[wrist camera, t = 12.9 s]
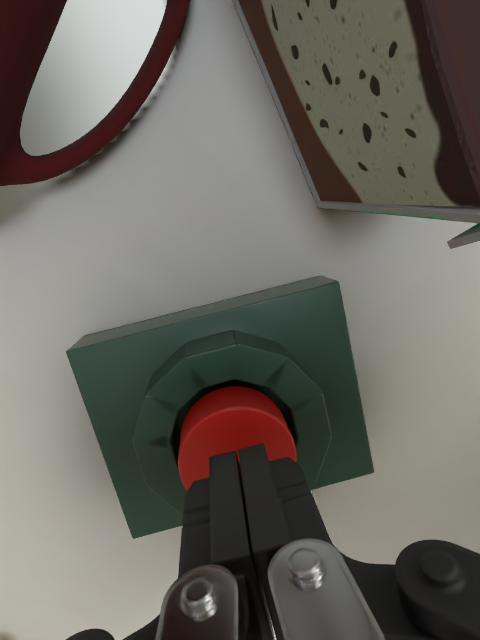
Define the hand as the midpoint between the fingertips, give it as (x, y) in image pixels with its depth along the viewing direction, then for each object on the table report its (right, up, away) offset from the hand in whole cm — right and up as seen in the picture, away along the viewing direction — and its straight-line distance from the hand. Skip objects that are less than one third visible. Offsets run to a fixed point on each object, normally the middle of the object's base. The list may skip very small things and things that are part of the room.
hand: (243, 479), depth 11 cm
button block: (-1, +1, +7) cm, 7 cm away
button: (0, 0, +3) cm, 3 cm away
